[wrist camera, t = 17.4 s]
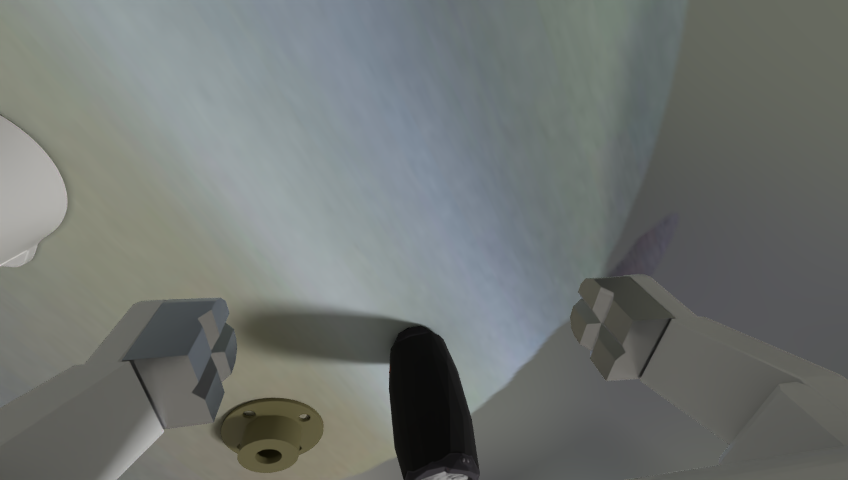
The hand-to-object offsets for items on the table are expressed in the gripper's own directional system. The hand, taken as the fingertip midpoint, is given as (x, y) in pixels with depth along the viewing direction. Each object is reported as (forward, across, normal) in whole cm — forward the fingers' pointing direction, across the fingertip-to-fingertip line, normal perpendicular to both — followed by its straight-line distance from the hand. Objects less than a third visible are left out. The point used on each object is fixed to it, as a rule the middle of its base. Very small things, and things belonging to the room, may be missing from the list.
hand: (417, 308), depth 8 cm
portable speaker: (+31, +6, -34) cm, 47 cm away
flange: (+32, -16, -50) cm, 61 cm away
